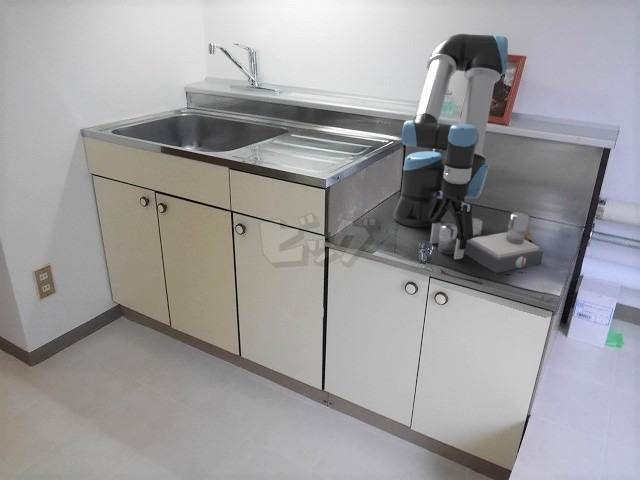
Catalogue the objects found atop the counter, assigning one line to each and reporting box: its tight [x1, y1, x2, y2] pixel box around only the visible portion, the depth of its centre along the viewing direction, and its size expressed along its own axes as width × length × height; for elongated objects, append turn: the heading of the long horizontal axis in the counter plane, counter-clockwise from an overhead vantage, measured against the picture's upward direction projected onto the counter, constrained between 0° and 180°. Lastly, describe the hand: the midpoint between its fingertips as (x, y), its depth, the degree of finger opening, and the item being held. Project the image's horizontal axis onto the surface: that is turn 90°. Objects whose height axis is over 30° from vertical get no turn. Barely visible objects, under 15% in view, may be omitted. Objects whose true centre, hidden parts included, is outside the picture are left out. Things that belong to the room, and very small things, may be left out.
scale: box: [464, 231, 545, 274], centre depth 150 cm, size 15×17×5 cm
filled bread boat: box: [507, 224, 534, 244], centre depth 164 cm, size 5×14×4 cm, turn 3°
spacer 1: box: [437, 222, 458, 255], centre depth 153 cm, size 5×5×8 cm
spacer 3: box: [506, 211, 530, 244], centre depth 149 cm, size 5×5×8 cm
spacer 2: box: [467, 217, 483, 240], centre depth 158 cm, size 5×5×8 cm
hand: (445, 250), depth 155 cm, fingers open, 11 cm apart
